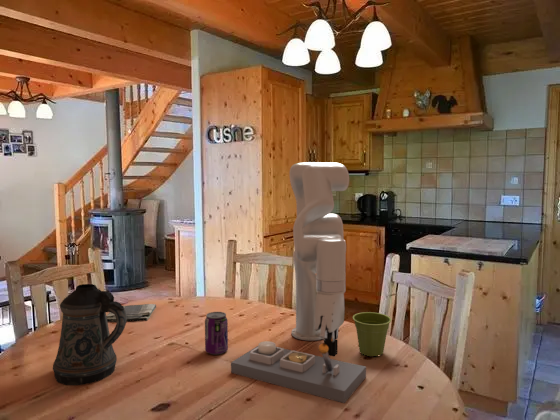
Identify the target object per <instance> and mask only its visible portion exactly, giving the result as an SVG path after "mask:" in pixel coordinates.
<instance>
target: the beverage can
mask: <svg viewBox="0 0 560 420" xmlns="http://www.w3.org/2000/svg"><path fill="white" fill-rule="evenodd" d="M205 316H206V317H205V319H204V345H205V346H204V351H205V352H206V353H208V354H209V355H213V356H216V355H222V354H224V353H225V352H227V351H228V349H229V343H228V342H229V339H228V337H229V335H228V334H229V332H228V329H229V327H228V325H229V324H228V323H229V322H228V320H229V319H228V317H227V313H226V312H224V311H212V312H208V313H206V315H205Z"/></svg>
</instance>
